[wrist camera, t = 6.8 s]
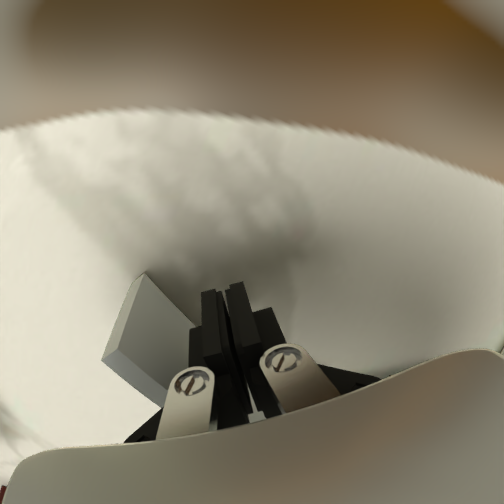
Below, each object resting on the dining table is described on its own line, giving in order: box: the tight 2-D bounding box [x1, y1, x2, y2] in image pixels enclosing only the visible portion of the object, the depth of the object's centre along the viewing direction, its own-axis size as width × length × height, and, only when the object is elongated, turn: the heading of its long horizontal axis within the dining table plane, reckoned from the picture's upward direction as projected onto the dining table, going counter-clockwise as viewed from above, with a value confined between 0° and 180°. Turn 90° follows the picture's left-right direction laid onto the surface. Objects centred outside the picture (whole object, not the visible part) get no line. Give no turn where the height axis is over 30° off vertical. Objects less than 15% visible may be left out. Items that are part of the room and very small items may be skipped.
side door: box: [101, 273, 266, 423], centre depth 12 cm, size 10×1×6 cm, turn 35°
